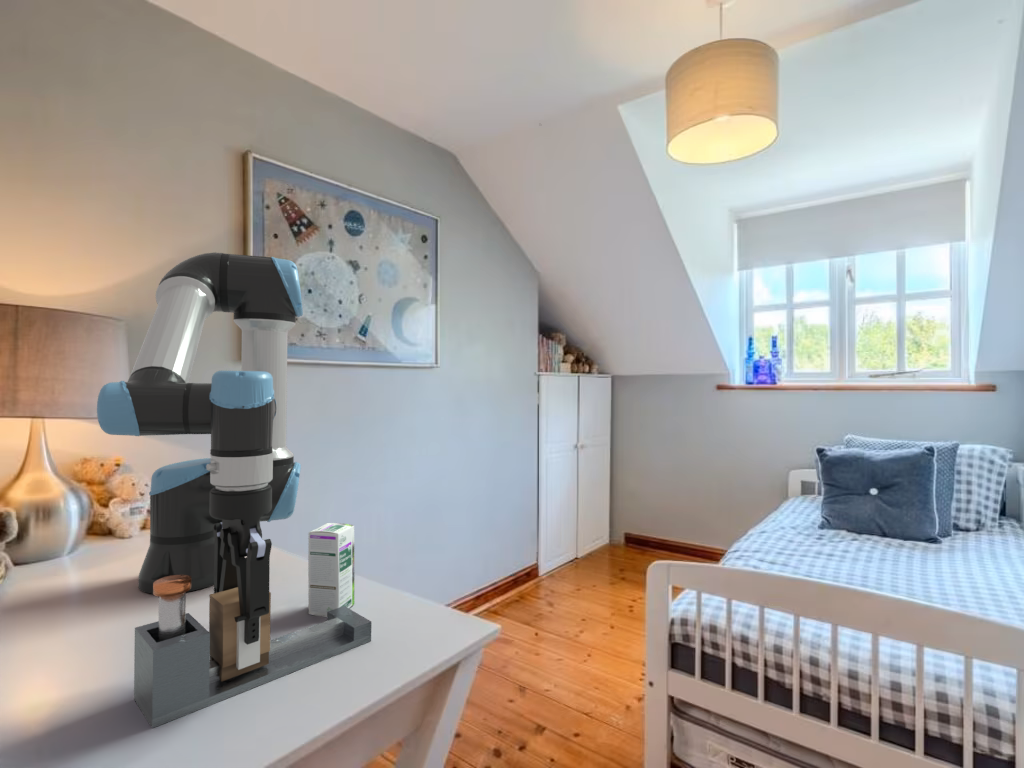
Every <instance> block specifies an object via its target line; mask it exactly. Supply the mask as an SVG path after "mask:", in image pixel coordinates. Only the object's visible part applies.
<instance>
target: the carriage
mask: <svg viewBox="0 0 1024 768" xmlns="http://www.w3.org/2000/svg"><path fill="white" fill-rule="evenodd" d="M271 599H272V592H270V591H269V613H268V614H266V615H263V616H260V662H258V663H256V664H253V665H250V666H248V667H245V668H242V669H239V670H238V669H237V668H236V650H237V622H236V621H235V619H234V617H237V616H240V605H239V593H238V587H237V588H233V589H229V590H225V591H221V592H217V593H214V592H213V593H210V594H209V602H208V603H209V606H208V607H209V615H208V616H209V618H208V620H209V621H208V624H209V625H208V632H209V633H210V661H212V660H215V661H216V662H217V663H218V664H219V679H220V680H221V682H222V681H225V680H227V679H230V678H233V677H235V676H238V675H241V674H243V673H246V672H249V671H251V670H254V669H257V668H259V667H262V666H265V665H267V664H269V651H270V640H271V613H272V611H271V606H272V604H271Z"/></svg>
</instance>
